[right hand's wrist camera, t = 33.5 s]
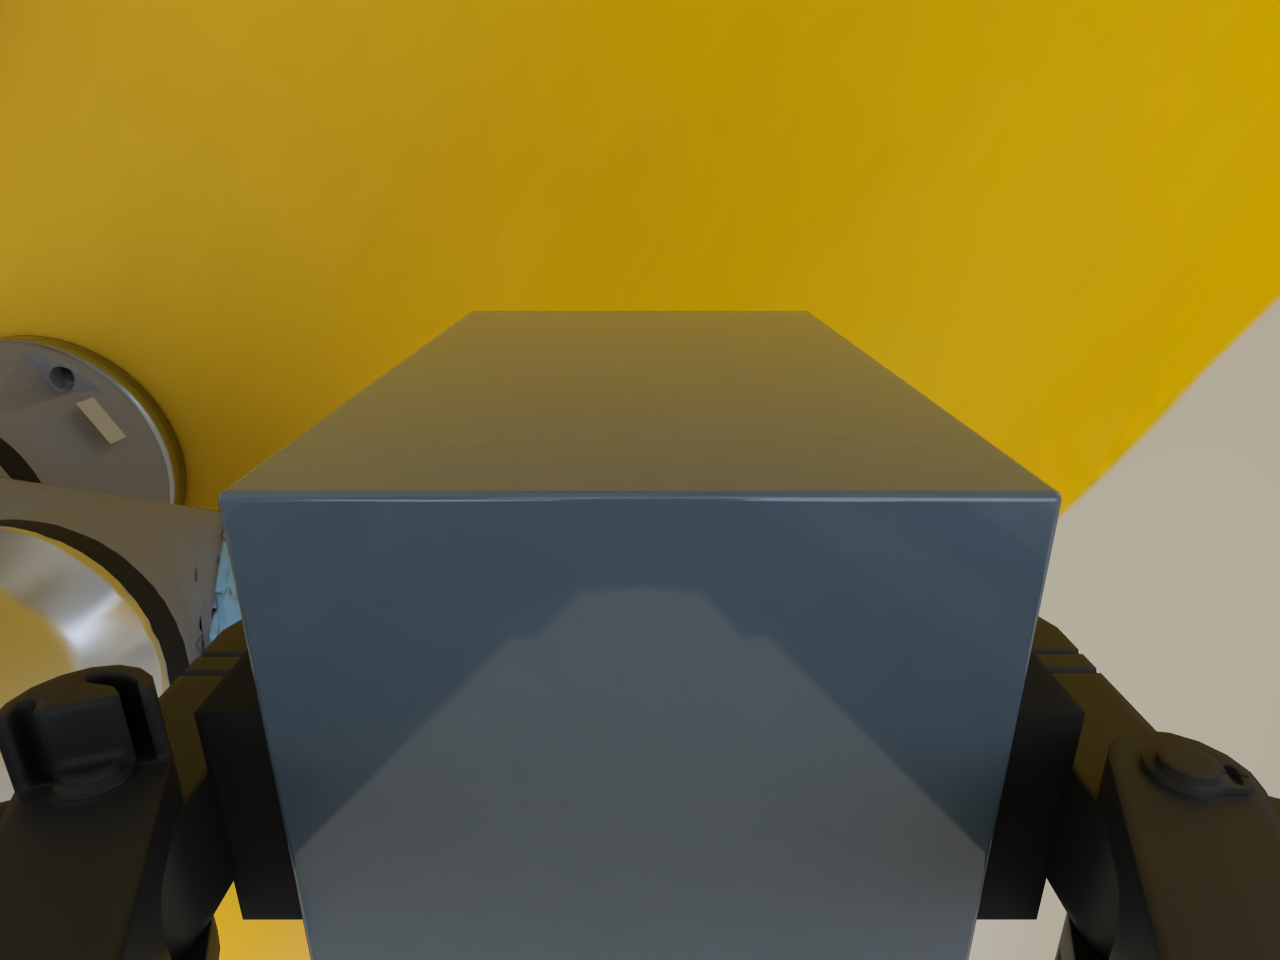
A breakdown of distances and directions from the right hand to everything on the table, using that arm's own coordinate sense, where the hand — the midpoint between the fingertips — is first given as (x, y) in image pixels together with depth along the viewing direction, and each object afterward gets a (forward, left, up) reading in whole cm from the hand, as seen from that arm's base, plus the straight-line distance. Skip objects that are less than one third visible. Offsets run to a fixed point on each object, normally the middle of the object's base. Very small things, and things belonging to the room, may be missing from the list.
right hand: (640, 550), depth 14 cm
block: (0, 0, -4) cm, 4 cm away
